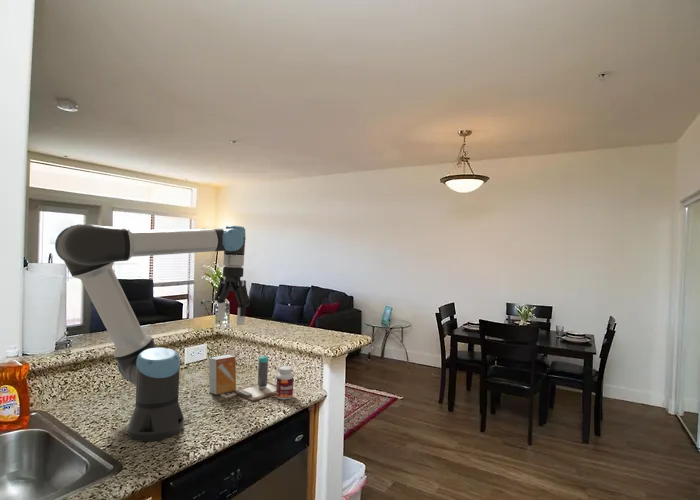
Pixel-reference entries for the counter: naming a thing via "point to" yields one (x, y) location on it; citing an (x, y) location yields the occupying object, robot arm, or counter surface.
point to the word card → (228, 394)
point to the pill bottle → (284, 383)
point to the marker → (262, 372)
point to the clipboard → (256, 392)
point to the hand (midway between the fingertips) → (230, 322)
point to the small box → (222, 374)
